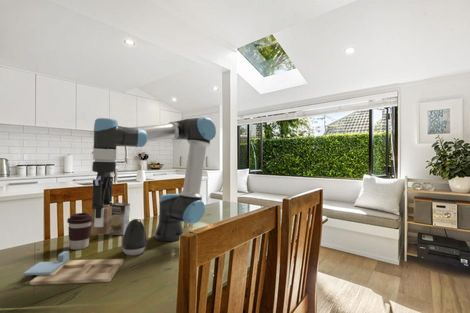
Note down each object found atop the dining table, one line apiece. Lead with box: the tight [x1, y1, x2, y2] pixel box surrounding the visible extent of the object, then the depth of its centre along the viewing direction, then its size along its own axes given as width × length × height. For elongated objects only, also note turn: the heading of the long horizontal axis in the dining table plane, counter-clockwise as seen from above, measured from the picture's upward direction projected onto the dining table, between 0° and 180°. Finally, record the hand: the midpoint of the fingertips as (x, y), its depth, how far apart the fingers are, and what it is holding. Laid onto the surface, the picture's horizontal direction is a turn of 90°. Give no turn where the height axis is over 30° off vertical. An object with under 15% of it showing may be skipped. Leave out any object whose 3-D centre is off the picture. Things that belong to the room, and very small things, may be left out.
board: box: [29, 258, 125, 286], centre depth 88 cm, size 24×16×2 cm, turn 100°
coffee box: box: [106, 202, 131, 236], centre depth 133 cm, size 9×6×16 cm
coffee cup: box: [67, 212, 92, 251], centre depth 112 cm, size 10×10×15 cm
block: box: [90, 206, 112, 235], centre depth 89 cm, size 5×5×9 cm
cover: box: [22, 250, 70, 276], centre depth 88 cm, size 8×12×3 cm, turn 10°
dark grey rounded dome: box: [121, 218, 148, 256], centre depth 107 cm, size 10×10×15 cm
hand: (101, 224), depth 89 cm, fingers closed on block, 5 cm apart
